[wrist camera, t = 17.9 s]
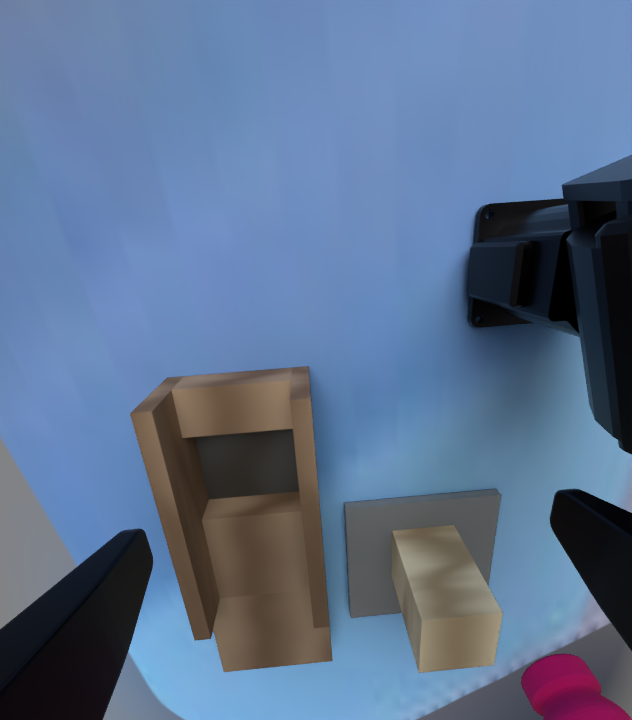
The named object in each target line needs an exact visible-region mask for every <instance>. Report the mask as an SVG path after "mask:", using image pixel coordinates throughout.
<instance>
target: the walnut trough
mask: <svg viewBox="0 0 632 720" xmlns="http://www.w3.org/2000/svg"><path fill="white" fill-rule="evenodd" d="M130 415H131V419H132V422H133V426H134V429H135V433H136V436H137V440H138V443H139V447H140V450H141V454H142V457H143V461H144V464H145V468H146V471H147V475H148V478H149V482H150V485H151V489H152V492H153V496H154V499H155V503H156V506H157V510H158V513H159V517H160V520H161V524H162V527H163V531H164V534H165V538H166V541H167V545H168V548H169V552H170V555H171V559H172V562H173V566H174V569H175V573H176V576H177V580H178V583H179V587H180V590H181V594H182V597H183V601H184V604H185V608H186V611H187V615H188V618H189V622H190V625H191V629H192V632H193V636H194V639H195V640H204V639H211V636H212V631H214V635H215V639H216V643H217V647H218V650H219V654H220V658H221V662H222V666H223V670H224V672H229V671H239V670H249V669H259V668H268V667H278V666H288V665H298V664H307V663H317V662H327V661H332V650H331V637H330V625H329V613H328V601H327V588H326V576H325V564H324V552H323V539H322V527H321V515H320V503H319V490H318V478H317V466H316V453H315V441H314V429H313V417H312V404H311V392H310V380H309V368H308V366H306V367H294V368H282V369H269V370H257V371H245V372H233V373H220V374H208V375H196V376H183V377H171V378H166V379H165V380H164V381H163V382H162V383H161V384H160V385H159V386H158V387H157V388H156V389H155V390H154V391H153V392H152V393H151V394H150V395H149V396H148V397H147V398H146V399H145V400H144V401H143V402H142V403H141V404H140V405H138V406H137V407H136V408H135V409H134V410H133V411H132V412H131V413H130Z"/></svg>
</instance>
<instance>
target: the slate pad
mask: <svg viewBox="0 0 632 720" xmlns="http://www.w3.org/2000/svg"><path fill="white" fill-rule="evenodd" d="M500 500H501V494H500V493H499V491H498V490H497V489H488V490H477V491H466V492H456V493H445V494H434V495H423V496H412V497H401V498H390V499H379V500H368V501H357V502H346V503H344V508H345V528H346V548H347V567H348V587H349V607H350V616H351V618H354V617H364V616H374V615H384V614H394V613H402V611H401V608H400V604H399V601H398V597H397V593H396V590H395V586H394V583H393V579H392V531H394V530H405V529H416V528H427V527H438V526H449V525H454V526H455V528H456V530H457V531H458V533H459V535H460V537H461V539H462V540H463V542H464V544H465V546H466V548H467V549H468V551H469V553H470V555H471V556H472V558H473V560H474V562H475V564H476V565H477V567H478V569H479V571H480V573H481V574H482V576H483V578H484V580H485V581H486V583H487V585H488V584H489V577H490V570H491V563H492V556H493V549H494V542H495V535H496V528H497V521H498V514H499V507H500Z"/></svg>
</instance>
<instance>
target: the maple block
mask: <svg viewBox="0 0 632 720" xmlns="http://www.w3.org/2000/svg"><path fill="white" fill-rule="evenodd" d="M392 579H393V583H394V586H395V590H396V593H397V597H398V601H399V604H400V608H401V611H402V615H403V618H404V622H405V625H406V629H407V632H408V636H409V640H410V643H411V647H412V650H413V654H414V657H415V661H416V664H417V668H418V671H419V673H422V672H432V671H441V670H451V669H461V668H471V667H480V666H490V665H494V662H495V656H496V650H497V644H498V638H499V633H500V627H501V621H502V615H503V612H502V610H501V608H500V606H499V605H498V603H497V601H496V599H495V598H494V596H493V594H492V592H491V590H490V589H489V587H488V585H487V583H486V581H485V580H484V578H483V576H482V574H481V573H480V571H479V569H478V567H477V565H476V564H475V562H474V560H473V558H472V556H471V555H470V553H469V551H468V549H467V548H466V546H465V544H464V542H463V540H462V539H461V537H460V535H459V533H458V531H457V530H456V528H455V526H454V525H449V526H438V527H427V528H416V529H405V530H394V531H392Z"/></svg>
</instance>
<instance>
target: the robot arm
mask: <svg viewBox="0 0 632 720" xmlns="http://www.w3.org/2000/svg"><path fill="white" fill-rule="evenodd" d="M562 190H563V197H564V199H551V200H537V201H522V202H508V203H494V204H488V205H484V206H482V207H481V208H480V209H479V210H478V212H477V215H476V225H475V237H474V245H473V246H472V247H471V249H470V262H469V274H468V286H467V293H468V294H469V295H470V297H469V309H468V322H469V324H471V325H472V326H475V327H491V326H503V325H516V324H528V323H537V324H540V325H543V326H546V327H549V328H553V329H556V330H559V331H562V332H565V333H569V334H572V335H575V336H578V337H580V341H581V348H582V355H583V362H584V370H585V377H586V384H587V391H588V398H589V405H590V407H591V410H592V413H593V416H594V418H595V420H596V421H597V422H598V423H599V424H600V425H601V426H602V427H603V428H604V429H605V430H606V431H607V432H609V433H610V434H611V435H612V436H613V437H614V438H616V439H618V444H619V447H620V448H621V449H622V450H624V451H626V452H628V453H630V454H632V155H630V156H628V157H626V158H623V159H621V160H619V161H616V162H614V163H612V164H609V165H607V166H605V167H602V168H600V169H598V170H595V171H593V172H590V173H588V174H586V175H583V176H581V177H579V178H576V179H574V180H572V181H569V182H567V183H565V184H563V185H562ZM487 210H489V211H490V218H489V219H486V218H485V213H486V211H487ZM478 315H480V320H479V321H477V322H476V320H475V319H476V317H477V316H478ZM550 524H551V528H552V530H553V532H554V534H555V535H556V537H557V539H558V540H559V542H560V543H561V545H562V547H563V548H564V550H565V552H566V553H567V555H568V556H569V558H570V560H571V561H572V563H573V565H574V566H575V568H576V569H577V571H578V573H579V574H580V576H581V578H582V579H583V581H584V582H585V584H586V586H587V587H588V589H589V591H590V592H591V594H592V595H593V597H594V598H595V600H596V601H597V603H598V605H599V606H600V608H601V609H602V610H603V612H604V613H605V615H606V616H607V618H608V619H609V620H610V622H611V623H612V625H613V626H614V627H615V629H616V630H617V632H618V633H619V634H620V636H621V637H622V638H623V640H624V641H625V643H626V644H627V645H628V647H629V648H630V649H631V651H632V513H630V512H628V511H626V510H624V509H621V508H619V507H617V506H615V505H613V504H610V503H608V502H606V501H604V500H602V499H599V498H597V497H595V496H593V495H591V494H589V493H586V492H584V491H582V490H579V489H565V490H559V491H557V492H556V493H555V496H554V501H553V505H552V510H551V515H550ZM152 566H153V556H152V553H151V549H150V546H149V543H148V540H147V536H146V533H145V531H144V530H142V529H131V530H124V531H121V532H120V533H118V534H117V535H116V536H115V537H113V538H112V539H111V540H110V541H108V542H107V543H106V544H105V545H103V546H102V547H101V548H100V549H99V550H97V551H96V552H95V553H94V554H92V555H91V556H90V557H89V558H87V559H86V560H85V561H84V562H83V563H81V564H80V565H79V566H78V567H76V568H75V569H74V570H73V571H72V572H70V573H69V574H68V575H67V576H65V577H64V578H63V579H62V580H61V581H59V582H58V583H57V584H56V585H54V586H53V587H52V588H51V589H49V590H48V591H47V592H46V593H44V594H43V595H42V596H41V597H39V598H38V599H37V600H36V601H35V602H33V603H32V604H31V605H30V606H28V607H27V608H26V609H25V610H23V611H22V612H21V613H20V614H18V615H17V616H16V617H15V618H14V619H12V620H11V621H10V622H9V623H7V624H6V625H5V626H4V627H3V628H1V629H0V720H103V717H104V715H105V712H106V710H107V707H108V704H109V702H110V699H111V696H112V694H113V691H114V689H115V686H116V683H117V680H118V678H119V676H120V673H121V670H122V667H123V665H124V662H125V659H126V656H127V653H128V650H129V647H130V644H131V641H132V637H133V634H134V630H135V627H136V623H137V620H138V616H139V613H140V609H141V606H142V602H143V599H144V595H145V592H146V588H147V585H148V581H149V578H150V574H151V571H152Z"/></svg>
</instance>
